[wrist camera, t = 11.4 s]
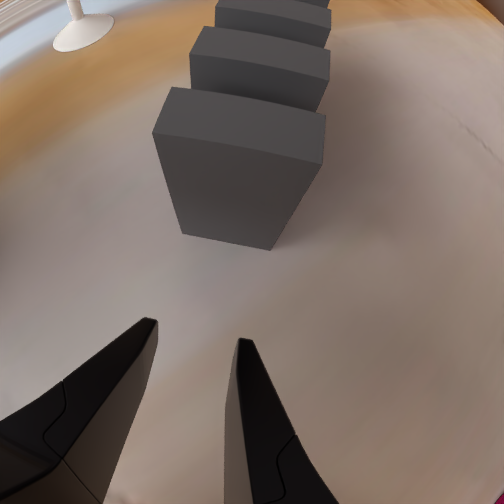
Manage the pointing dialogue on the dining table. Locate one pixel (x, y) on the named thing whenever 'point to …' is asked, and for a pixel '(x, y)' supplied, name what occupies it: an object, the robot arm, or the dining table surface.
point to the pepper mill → (500, 500)
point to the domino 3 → (236, 163)
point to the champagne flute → (82, 29)
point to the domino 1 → (276, 19)
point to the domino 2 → (259, 67)
